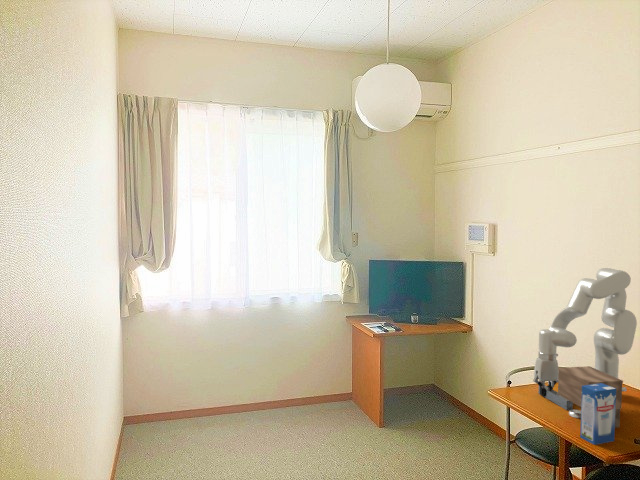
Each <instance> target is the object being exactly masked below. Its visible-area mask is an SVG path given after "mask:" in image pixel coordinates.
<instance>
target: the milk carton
mask: <svg viewBox="0 0 640 480" xmlns="http://www.w3.org/2000/svg"><path fill="white" fill-rule="evenodd" d="M615 409H616V388H613V387H611V386H608V385H605V384H603V383H599V384H591V385H584V386H582V400H581V407H580V411H581V418H580V433H579V434H580V436H579V437H580V438H581V439H582V440H585V441H586V442H588V443H590V444H592V445H595V446H596V445H601V444H605V443H611V442H615V437H616V436H615V434H616V433H615V431H616V428H615Z"/></svg>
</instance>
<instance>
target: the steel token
mask: <svg viewBox="0 0 640 480" xmlns="http://www.w3.org/2000/svg"><path fill="white" fill-rule="evenodd" d="M568 416H570V417H572V418H575V419H581V410H579V409H573V410H568Z"/></svg>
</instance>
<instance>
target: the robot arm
mask: <svg viewBox="0 0 640 480" xmlns="http://www.w3.org/2000/svg"><path fill="white" fill-rule="evenodd" d="M595 275H596V277H595V278H596V279H594V278H587V277H586V278H581V279H580V280H579V281H577V284H576V286H575V288H574V289H573V290H574V291H573V292H572V294H571V297H570V299H569V301H568V303H567V305H566V307H564V308H563V309H562V310H561V311H560V312H559V313H558V314H557V315H556V316H555V317H554V318H553V320H552V322H551V324H550V327H549V329H548V328H545V329H541V330H539V332H538V355H537V357H538V358H536V359H535V364H534V369H533V370H534V371H533V380H532V382H533V383H536V384H537V385H538V387H539V386H540V394H539V395H540V396H542V397H544V396H545V388H544V387H545V385H546V384H545V383H546V382H547V383H548V385H546V386H547V387H549V388H551V389H553V390H554V388H555V386H556V384H557V383H558V377H559V370H558V368H559V363H558V360H557V357H559V354H558V353H557V347H559V348H560V347H561V348H572V347H574V346H575V345H576V344H577V343H578V342H577V341H578V340H577V336H576V335H575V334H574V333H573V332H571V331H570V330H567V327H568V326H569V324H570V323H571V322H572V321H574V320H575V319H577V318H580V317H583V316H585V315H587V313H588V310H589V308H590V306H591V304H592V302H593V300H601V299H604V303H603V308H602V312H601V322H602V323H604V324H605V325H606V326H609V327H611V328H613V329H611V328H607V327H603V328H598V329H597V330H596V331H595V332H594V334H593V344H594V351H595V353H594V355H595V357H594V358H595V359H594V368H595V369H597V370H599V371H602V372H604V373H606V374H609V375H611V376H613V377H616V378H618V379H619V365H620V364H619V363H620V360H619V355H622V356H623V355H627V354H628V353H629V352H630V351H631V350H632V347H633V343H634V339H635V334H636V331H637V330H636V329H637V325H638V322H637V317H636V315H635V314H634V312H632V311H630V310H628V309H626V303H627V291H626V289H627V288H628V287H629V286H630V285H631V276H630V274H629V273H628V272H626V271H624V270H621V269H615V268H611V267H610V268H608V267H605V268H604V267H602V268H600V269H598V270H597V272H596V273H595ZM627 391H628V390H627V387H623V386H622V393H624V392H627Z"/></svg>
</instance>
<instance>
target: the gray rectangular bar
mask: <svg viewBox="0 0 640 480" xmlns="http://www.w3.org/2000/svg"><path fill="white" fill-rule="evenodd" d="M544 388H545V396H543V398H545V399H547V400H549V401H551V402H552V403H554V404H556V405H557V406H559V407H561V409H564V410H565V411H569V410H574V403H573V402H571V401H569V400H567V399H565V398H564V397H562V396H560V395H558V391H556V390H554V388H553V389H551V388H549V387H547V385H546V384H545V387H544ZM537 394H538V395H540V386H539V385H538V393H537Z"/></svg>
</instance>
